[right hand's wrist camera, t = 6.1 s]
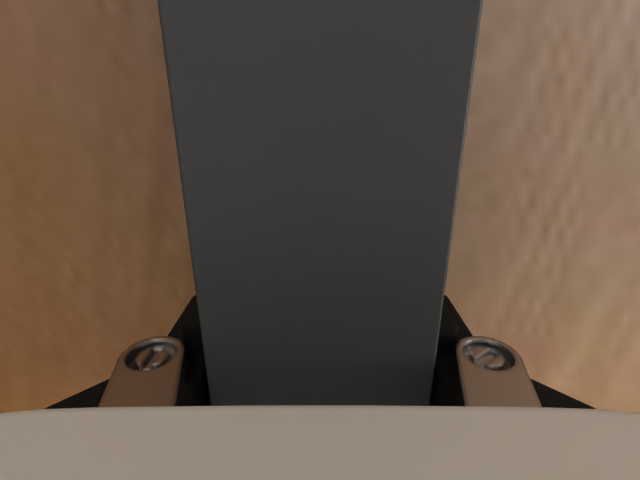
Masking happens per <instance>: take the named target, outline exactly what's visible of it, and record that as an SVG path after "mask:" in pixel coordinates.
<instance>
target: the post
mask: <svg viewBox="0 0 640 480" xmlns="http://www.w3.org/2000/svg"><path fill="white" fill-rule="evenodd" d="M482 3H483V0H158V8H159V15H160V23H161V31H162V38H163V46H164V53H165V61H166V69H167V76H168V84H169V91H170V99H171V107H172V114H173V122H174V129H175V137H176V145H177V152H178V160H179V167H180V175H181V183H182V190H183V198H184V205H185V213H186V221H187V228H188V236H189V243H190V251H191V259H192V266H193V274H194V281H195V289H196V297H197V304H198V312H199V319H200V327H201V335H202V342H203V350H204V357H205V365H206V373H207V380H208V388H209V395H210V403H211V406H254V405H376V406H430V398H431V390H432V383H433V375H434V368H435V360H436V352H437V345H438V337H439V330H440V322H441V314H442V307H443V299H444V292H445V284H446V276H447V269H448V261H449V254H450V246H451V238H452V231H453V223H454V216H455V208H456V200H457V193H458V185H459V177H460V170H461V162H462V155H463V147H464V139H465V132H466V124H467V117H468V109H469V101H470V94H471V86H472V79H473V71H474V63H475V56H476V48H477V41H478V33H479V25H480V18H481V10H482Z"/></svg>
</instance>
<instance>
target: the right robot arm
mask: <svg viewBox="0 0 640 480" xmlns="http://www.w3.org/2000/svg"><path fill="white" fill-rule="evenodd" d="M0 480H640V413H634V412H625V411H614V410H604V409H595V408H593V407H591V406H589V405H587V404H584V403H582V402H580V401H578V400H576V399H574V398H571V397H569V396H567V395H565V394H563V393H560V392H558V391H556V390H554V389H552V388H550V387H547V386H545V385H543V384H541V383H539V382H536V381H534V380H532V379H530V377H529V374H528V372H527V370H526V367H525V365H524V362H523V360H522V358H521V357H520V355H519V354H518V352H517V351H515V350H514V349H513V348H512V347H510V346H509V345H507V344H505V343H503V342H501V341H498V340H496V339H493V338H488V337H483V336H472V334H471V333H470V331H469V329H468V328H467V326H466V325H465V323H464V322H463V320H462V319H461V317H460V316H459V314H458V312H457V311H456V309H455V308H454V306H453V305H452V303H451V302H450V300H449V299H448V297H447V296H446V295H444V299H443V307H442V314H441V322H440V330H439V337H438V345H437V352H436V360H435V368H434V375H433V383H432V390H431V398H430V406H376V405H254V406H211V403H210V395H209V388H208V380H207V373H206V365H205V357H204V350H203V342H202V335H201V327H200V319H199V312H198V304H197V297H196V295H194V297H193V298H192V299H191V301H190V302H189V304H188V305H187V307H186V308H185V310H184V311H183V313H182V314H181V316H180V318H179V319H178V321H177V322H176V324H175V325H174V327H173V328H172V330H171V331H170V333H169V335H168V336H157V337H152V338H147V339H144V340H142V341H139V342H137V343H135V344H133V345H131V346H130V347H128V348H127V349H126V350H125V351H123V352H122V354H121V355H120V357H119V358H118V360H117V362H116V365H115V367H114V370H113V372H112V374H111V377H110V379H108V380H106V381H104V382H102V383H99V384H97V385H95V386H93V387H91V388H89V389H86V390H84V391H82V392H80V393H78V394H75V395H73V396H71V397H69V398H67V399H64V400H62V401H60V402H58V403H56V404H54V405H51V406H49V407H47V408H45V409H36V410H26V411H15V412H6V413H0Z"/></svg>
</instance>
